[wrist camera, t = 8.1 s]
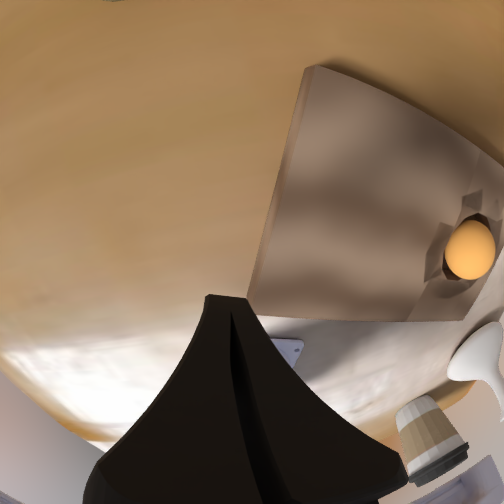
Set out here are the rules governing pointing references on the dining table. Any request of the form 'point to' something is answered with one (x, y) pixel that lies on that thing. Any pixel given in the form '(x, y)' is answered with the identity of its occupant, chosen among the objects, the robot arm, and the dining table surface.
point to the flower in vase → (481, 360)
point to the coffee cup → (428, 440)
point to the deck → (371, 210)
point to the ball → (470, 250)
